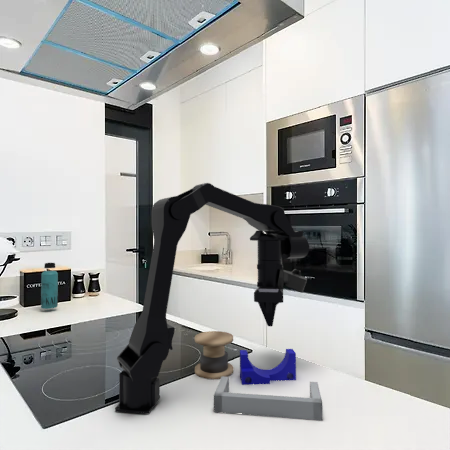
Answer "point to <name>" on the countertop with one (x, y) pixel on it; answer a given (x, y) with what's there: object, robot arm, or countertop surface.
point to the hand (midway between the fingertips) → (270, 326)
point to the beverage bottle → (49, 288)
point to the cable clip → (262, 376)
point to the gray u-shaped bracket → (268, 403)
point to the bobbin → (214, 355)
